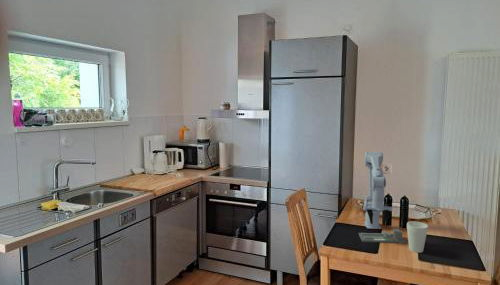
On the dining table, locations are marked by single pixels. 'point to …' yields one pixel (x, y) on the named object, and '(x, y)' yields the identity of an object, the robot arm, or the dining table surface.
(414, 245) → the foam cup
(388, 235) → the gauge follower
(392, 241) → the gauge base
